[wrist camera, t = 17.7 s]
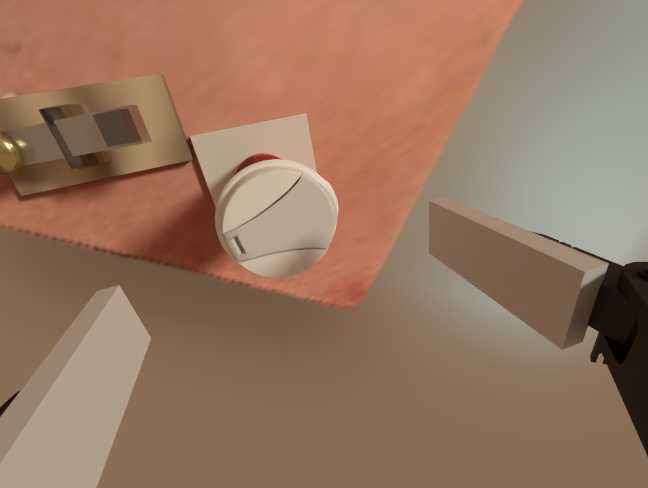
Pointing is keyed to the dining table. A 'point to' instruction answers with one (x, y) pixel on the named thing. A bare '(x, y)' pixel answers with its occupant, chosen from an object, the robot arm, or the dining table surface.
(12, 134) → the lever
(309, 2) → the dining table surface
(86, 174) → the lever base
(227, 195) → the paper cup
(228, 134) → the tile
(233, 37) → the dining table surface
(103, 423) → the robot arm
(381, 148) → the dining table surface
